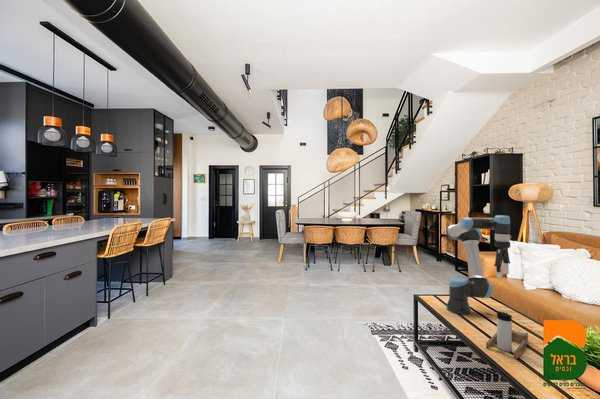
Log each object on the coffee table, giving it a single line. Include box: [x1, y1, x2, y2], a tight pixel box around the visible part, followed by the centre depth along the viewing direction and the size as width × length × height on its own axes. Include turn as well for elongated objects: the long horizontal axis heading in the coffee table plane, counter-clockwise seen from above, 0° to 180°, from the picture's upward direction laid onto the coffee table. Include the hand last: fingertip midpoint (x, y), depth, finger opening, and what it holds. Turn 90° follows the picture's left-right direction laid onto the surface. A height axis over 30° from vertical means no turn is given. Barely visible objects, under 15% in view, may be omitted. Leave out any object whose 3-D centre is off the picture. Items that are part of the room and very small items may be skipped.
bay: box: [485, 329, 529, 360], centre depth 144 cm, size 13×27×5 cm, turn 128°
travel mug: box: [496, 311, 513, 354], centre depth 139 cm, size 6×7×20 cm
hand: (502, 275), depth 158 cm, fingers open, 13 cm apart
